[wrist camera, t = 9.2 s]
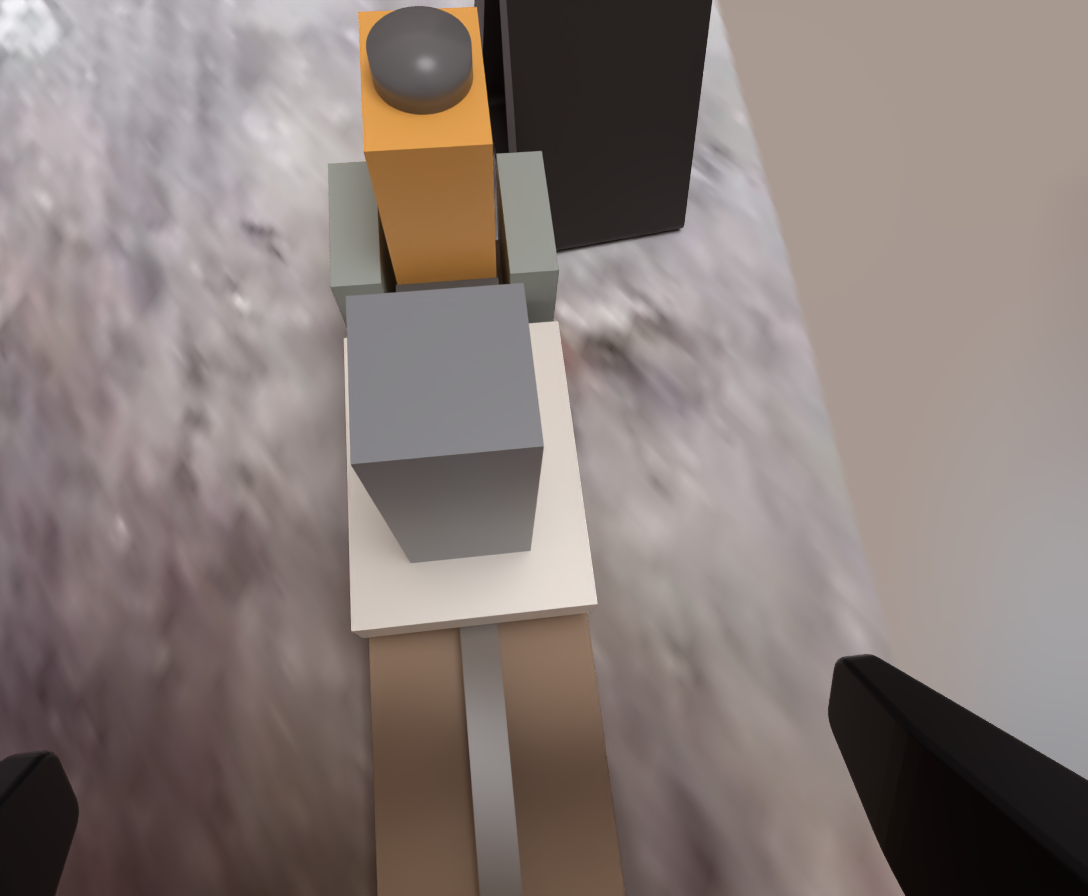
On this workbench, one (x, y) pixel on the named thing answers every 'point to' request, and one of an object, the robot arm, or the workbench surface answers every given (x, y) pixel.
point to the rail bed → (491, 761)
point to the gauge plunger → (429, 141)
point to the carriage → (460, 462)
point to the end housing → (521, 234)
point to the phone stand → (599, 106)
